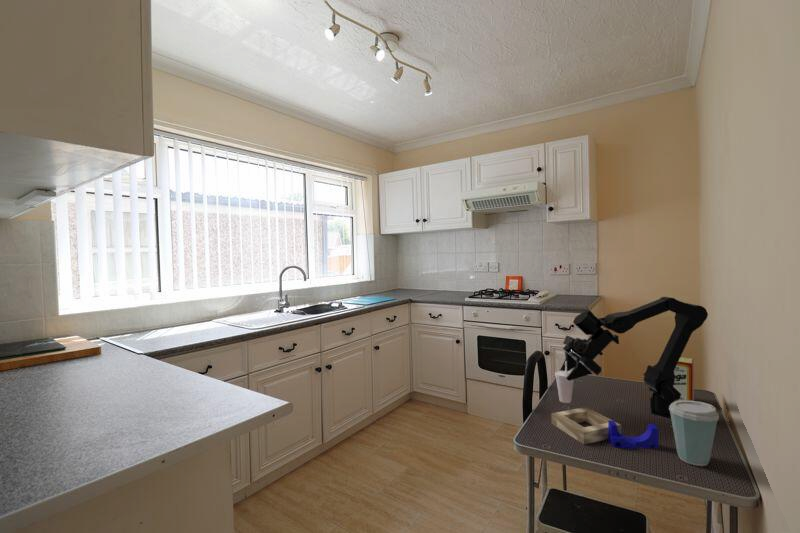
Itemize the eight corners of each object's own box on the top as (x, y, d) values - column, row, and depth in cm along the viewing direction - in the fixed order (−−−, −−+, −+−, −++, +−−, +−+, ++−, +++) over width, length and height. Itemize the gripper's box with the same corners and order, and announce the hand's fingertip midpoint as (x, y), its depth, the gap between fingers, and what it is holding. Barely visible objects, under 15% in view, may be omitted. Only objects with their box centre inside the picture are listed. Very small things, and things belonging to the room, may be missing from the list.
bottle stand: (586, 417, 128) (586, 406, 128) (621, 436, 114) (621, 424, 114) (551, 423, 124) (551, 413, 124) (583, 444, 110) (583, 432, 110)
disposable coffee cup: (670, 464, 99) (670, 408, 99) (667, 445, 108) (667, 394, 108) (722, 475, 94) (723, 416, 93) (714, 454, 103) (714, 401, 102)
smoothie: (570, 406, 126) (569, 364, 125) (552, 401, 131) (551, 361, 130) (578, 400, 130) (577, 360, 130) (560, 395, 135) (559, 357, 135)
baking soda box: (693, 401, 138) (693, 358, 137) (692, 407, 133) (692, 362, 132) (662, 395, 144) (662, 354, 144) (660, 400, 139) (660, 358, 139)
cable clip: (612, 447, 108) (612, 427, 108) (608, 440, 113) (608, 420, 113) (660, 452, 105) (660, 431, 105) (654, 444, 110) (654, 424, 109)
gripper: (567, 322, 139) (538, 353, 140) (590, 334, 120) (556, 369, 121) (590, 343, 138) (560, 373, 139) (616, 357, 120) (581, 392, 121)
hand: (563, 376), depth 130 cm, fingers closed on smoothie, 6 cm apart
